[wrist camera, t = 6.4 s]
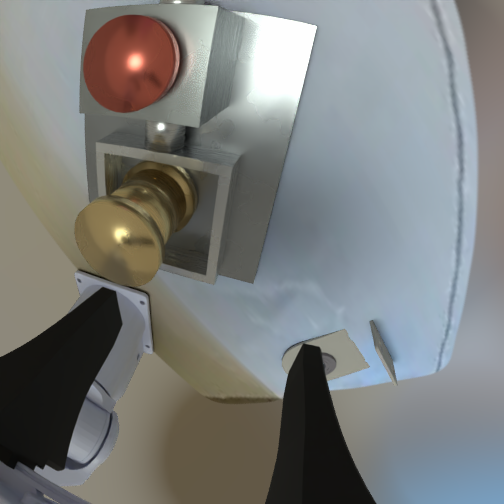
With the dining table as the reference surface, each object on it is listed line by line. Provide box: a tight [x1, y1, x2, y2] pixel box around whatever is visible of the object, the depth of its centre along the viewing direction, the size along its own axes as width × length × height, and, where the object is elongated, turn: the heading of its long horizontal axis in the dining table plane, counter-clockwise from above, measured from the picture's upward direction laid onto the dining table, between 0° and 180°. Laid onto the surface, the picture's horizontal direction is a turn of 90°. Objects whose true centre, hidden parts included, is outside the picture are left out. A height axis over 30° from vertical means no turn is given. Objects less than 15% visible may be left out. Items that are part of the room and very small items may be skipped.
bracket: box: [282, 320, 397, 386], centre depth 26 cm, size 7×10×4 cm, turn 124°
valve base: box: [80, 0, 317, 285], centre depth 15 cm, size 18×13×7 cm
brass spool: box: [75, 160, 198, 287], centre depth 17 cm, size 5×5×6 cm
